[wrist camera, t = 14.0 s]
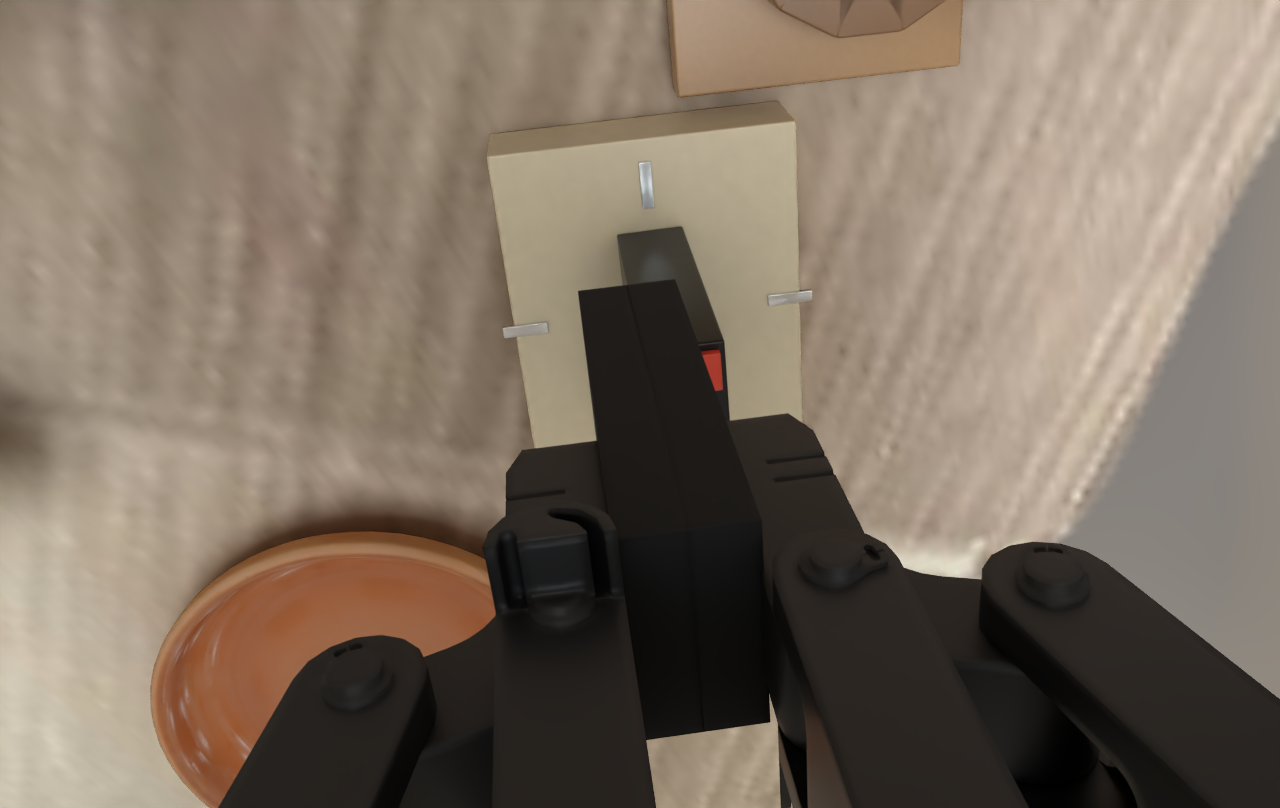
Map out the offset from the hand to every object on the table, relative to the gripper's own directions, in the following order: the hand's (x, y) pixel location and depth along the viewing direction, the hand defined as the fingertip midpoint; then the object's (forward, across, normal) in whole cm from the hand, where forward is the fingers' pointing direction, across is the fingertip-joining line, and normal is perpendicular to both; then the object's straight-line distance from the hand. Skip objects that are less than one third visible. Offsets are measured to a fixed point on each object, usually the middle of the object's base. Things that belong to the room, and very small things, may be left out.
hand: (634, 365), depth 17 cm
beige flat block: (+18, +2, -6) cm, 19 cm away
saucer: (+19, -10, -21) cm, 30 cm away
